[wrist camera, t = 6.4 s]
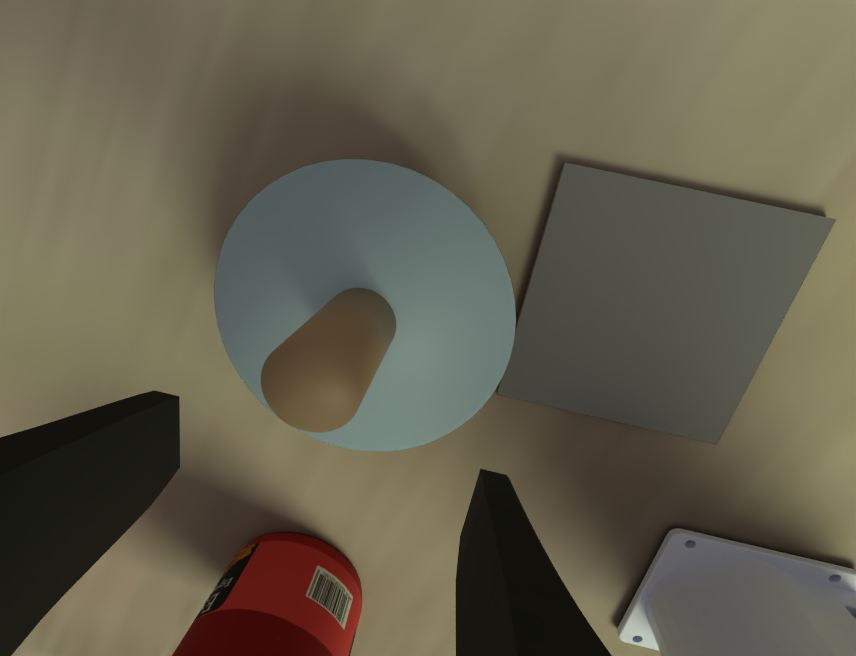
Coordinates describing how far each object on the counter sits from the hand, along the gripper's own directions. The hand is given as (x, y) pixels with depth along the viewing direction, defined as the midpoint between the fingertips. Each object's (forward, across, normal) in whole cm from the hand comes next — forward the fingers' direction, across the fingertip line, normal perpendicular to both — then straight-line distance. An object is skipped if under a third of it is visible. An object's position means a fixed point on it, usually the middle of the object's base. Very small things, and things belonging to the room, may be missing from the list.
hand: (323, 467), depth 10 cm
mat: (+10, -10, -3) cm, 14 cm away
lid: (+7, +1, -1) cm, 7 cm away
